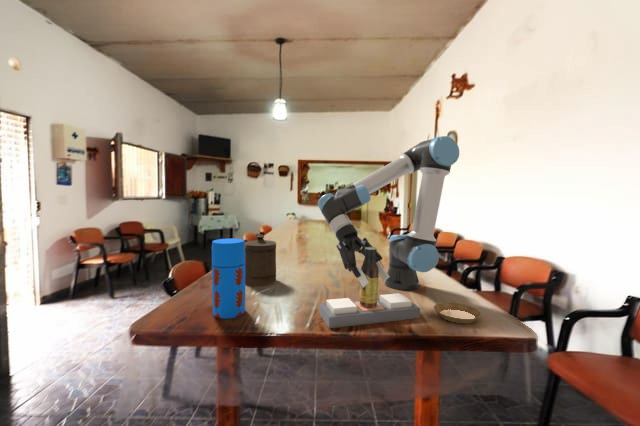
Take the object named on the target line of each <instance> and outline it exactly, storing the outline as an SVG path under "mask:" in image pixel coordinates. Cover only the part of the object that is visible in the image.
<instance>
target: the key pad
mask: <svg viewBox="0 0 640 426" xmlns="http://www.w3.org/2000/svg"><path fill="white" fill-rule="evenodd" d="M350 300H351V301H352V302H353V303H354V302H359V301H360V300H359V299H350ZM377 302H378V303H379V304H380V305H381V306H383V307H384V308H385V310H375V311H365V312H362V311H361V310H360V309H359V308H358V307H357V312H355V313H345V314H335V315H332V313H331V312H330V311H329V309H328V308H327V307H326V302H319V303H318V314H319V315H320V317H321V319H322V320H323V321H324V323H325V324H326V326H327V327H328V329H335V328H343V327H352V326H360V325H362V326H363V325H370V324H380V323H389V322H396V321H405V320H406V319H407V320H414V318H416V319H420V317H421V307H419V306H418V305H417V304H415V303H413V302H412V307H404V308H394V309H389V308H388V307H387V306H386V305H384V304H383V303H382V302H380V297H378V301H377Z"/></svg>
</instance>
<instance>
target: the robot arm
mask: <svg viewBox="0 0 640 426" xmlns="http://www.w3.org/2000/svg"><path fill="white" fill-rule="evenodd" d="M459 157H460V147H459V144H458V143H457V141H455V139H454V138H452V137H450V136H446V135H443V136H442V135H441V136H436V137H433V138H431V139H426V140H424V141H420V142H419V143H418V144H417V143H416V145H413V146H412V147H411V148H409V149H407V151H405V152H403V153H401V154H400V155H399V158H396V159H395V160H394V161H391V162H389V163H388V164H386V165H384V166H381V168H378V169H377V170H375V171H373V172H372V173H369V174H368V175H366V176H364V177H362V178H360V179H359V180H357V181H355V182H352V183H351V184H350V185H348V186H346V187H344V188H340V189H338V190H336V193H335V195H334V193H326V194H324V195H322V196H321V197H320V198H319V199H318V200H317V206H318V209H319V210H320V212H321V214H322V215H323V217H324V219H325V220H326V222H327V223H328V225H329V227H330V229H331V230H332V232H333V233H334V235H335V237H336V239H337V240H338V243H337V244H336V248H337V250H338V251H339V255H340V258H341V261H342V264H343V266H344V267H343V268H344V269H345V270H347V271H348V272H352V273H353V275H354V277H355V278H356V279H357V281H359V284H360V283H361V285H362V287H365V286H366V285H367V284H368V283H369V281H368V280H367V278H366V277H365V275H364V273H363V272H362V270H361V266H360V265H357V261H356V252H357V253H359V254H362V255H363V256H364V257H365V252H364V249H365V247H373V246H372V245H371V244H370V242H369V240H368V239H367V238H366V237H364V238H363V239H362V238H360V237H359V235H358V230H357V229H356V227H355V225H354V224H353V222H352V221H351V220H350V218H349V216H348V215H347V214H348V213H349V212H352V211H354V210H356V209H358V208H359V207H363V206H365V205H366V204H367V203H370V201H371V194H372V193H375V192H377V191H378V190H380V189H382V188H383V187H385V186H387V185H388V184H390V183H392V182H394V181H397V180H398V179H400V178H402V177H403V176H405V175H407V174H414V173H415V172H417V171H420V173H421V174H422V175H421V180H420V184H419V185H420V186H419V191H418V195H417V201H416V206H415V211H414V217H413V221H412V227H411V231H409V233H407V234H393V235H391V236H390V237H389V242H388V243H389V245H388V247H389V248H388V249H389V250H388V251H389V252H388V253H389V254H388V255H389V256H388V259H389V261H388V269H387V271H386V269H385V266H384V264H382V263H381V261H382V260H383V256H382V255H381V254H380V253H379V252H378V251H377V252H376V261H375V262H376V264H377V265H378V268H379V274H378V276H379V277H380V279H381V280H382V281H383V282H384V285H385V286H387V287H389V288H392V289H395V290H401V291H402V290H404V291H405V290H406V291H408V290H410V291H411V290H416V289H418V288H419V287H420V280H419V276H418V274H417V273H418V272H419V273H426V272H430V271H431V270H433V269H434V268H435V267H436V266H437V265H438V262H439V258H440V253H439V251H438V249H437V248H436V244H437V238H435V236H434V233H435V229H436V223H437V220H438V213H439V209H440V204H441V197H442V192H443V187H444V182H445V177H446V176H447V175H449V174H450V173H451V170H452V169H451V168H452V166H453V165H455V163H457V161H458V159H459Z"/></svg>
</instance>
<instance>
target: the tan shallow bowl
mask: <svg viewBox="0 0 640 426" xmlns="http://www.w3.org/2000/svg"><path fill="white" fill-rule="evenodd" d="M433 309H434V312H436V313H437V315H438V316H439V317H441V318H442V319H443V320H445V321H447V320H448V321H447V322H450V321H451V323H454V322H456V324H461V323H468V324H471V322H472V323H474V322H475V321H478V320H479V319H480V317H482V313H481V311H480V310H479V309H477V308H475V307H472V306H470V305H466V304H463V303H456V302H439V303H436V304H435V305H433ZM448 309H449V310H450V309H451V310H460V311H465V312H468V313H470V314H472V315H474V316H475V318H474V319H460V318H454V317H450V316H446V315H444V314H441V313H440V312H441V311H443V310H448Z"/></svg>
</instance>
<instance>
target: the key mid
mask: <svg viewBox="0 0 640 426" xmlns="http://www.w3.org/2000/svg"><path fill="white" fill-rule="evenodd" d="M354 304H355V305H356V306H357V307H358V308H359V309H360V310H361V311H362V312H365V311H375V310H385V308H384V307H383V306H381V305H380V304H379V303H378V302H377V305H376V306H375V307H364V306H362V305H361V304H360V301H359V302H354Z"/></svg>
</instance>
